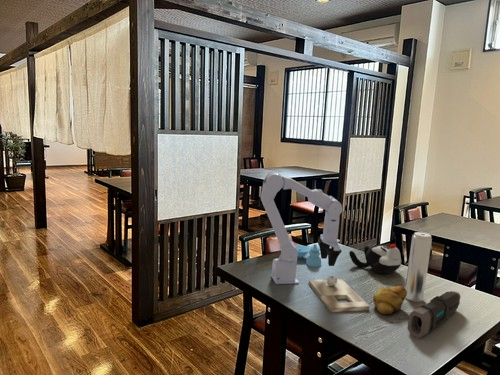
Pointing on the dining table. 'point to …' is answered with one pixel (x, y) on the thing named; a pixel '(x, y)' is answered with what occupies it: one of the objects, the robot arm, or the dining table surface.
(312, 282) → the ash board
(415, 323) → the tube
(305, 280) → the dining table surface
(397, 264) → the toy
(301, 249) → the light blue lumpy shape
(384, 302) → the bread roll
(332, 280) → the steel ball
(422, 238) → the silver cylinder
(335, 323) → the dining table surface
